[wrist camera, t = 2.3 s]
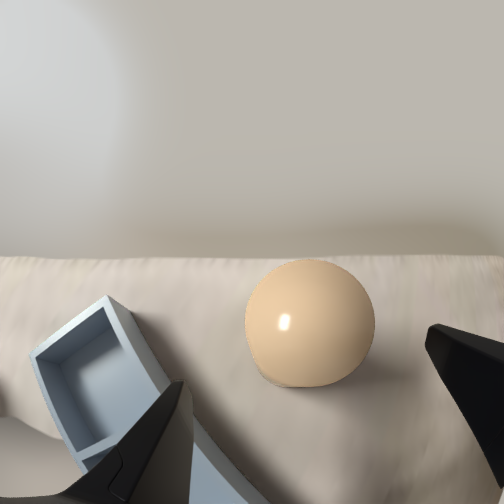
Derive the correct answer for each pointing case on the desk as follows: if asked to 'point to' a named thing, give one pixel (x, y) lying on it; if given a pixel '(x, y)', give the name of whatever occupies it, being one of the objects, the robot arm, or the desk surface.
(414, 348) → the desk surface
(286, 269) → the pin
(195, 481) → the blue-grey compartment tray
